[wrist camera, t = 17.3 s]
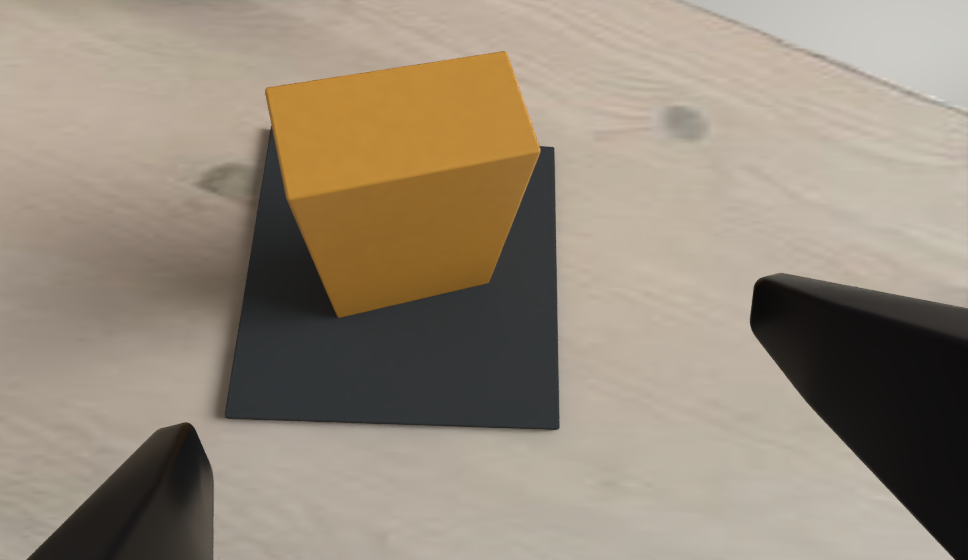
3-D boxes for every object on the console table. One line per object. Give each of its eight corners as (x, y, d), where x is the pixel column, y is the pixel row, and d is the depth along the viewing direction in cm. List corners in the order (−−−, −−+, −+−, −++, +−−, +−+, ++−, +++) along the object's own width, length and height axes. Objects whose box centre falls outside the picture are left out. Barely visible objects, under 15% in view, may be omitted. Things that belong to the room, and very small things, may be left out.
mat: (227, 418, 21) (223, 417, 21) (273, 128, 25) (271, 123, 25) (557, 430, 23) (559, 429, 22) (552, 151, 26) (554, 146, 26)
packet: (489, 283, 24) (542, 151, 14) (337, 318, 22) (286, 200, 13) (469, 216, 25) (506, 49, 15) (322, 246, 23) (263, 86, 14)
